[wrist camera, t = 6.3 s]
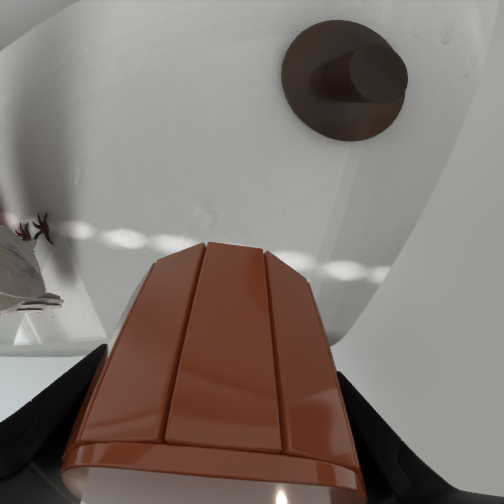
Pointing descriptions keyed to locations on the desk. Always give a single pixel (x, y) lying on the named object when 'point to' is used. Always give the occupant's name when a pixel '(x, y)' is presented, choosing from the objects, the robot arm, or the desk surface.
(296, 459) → the orange ribbed cylinder
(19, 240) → the bird
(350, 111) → the holder
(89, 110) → the desk surface
